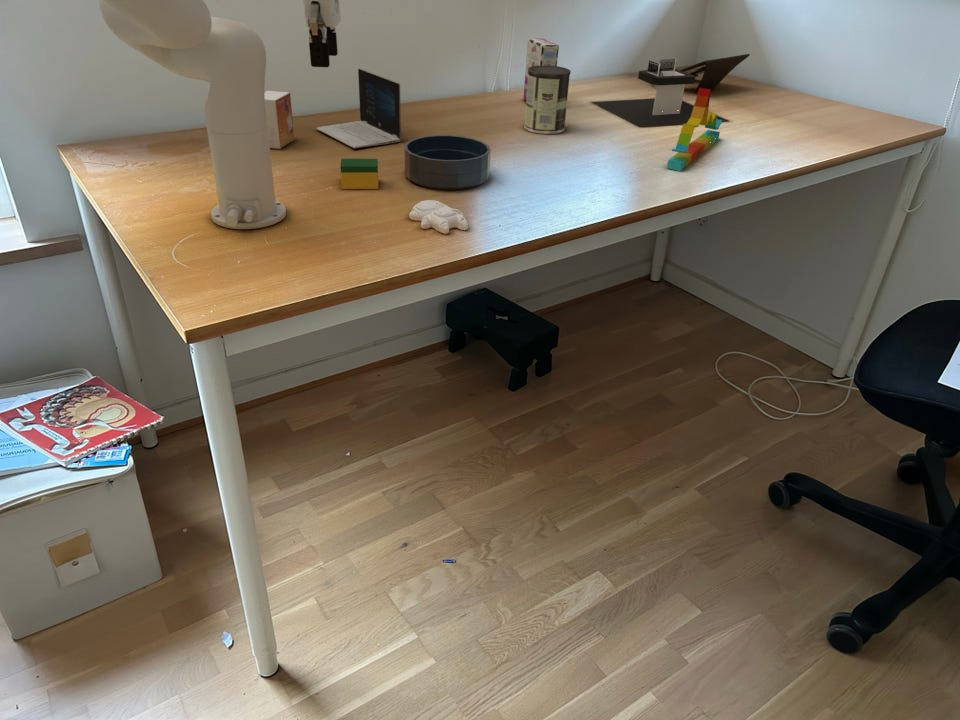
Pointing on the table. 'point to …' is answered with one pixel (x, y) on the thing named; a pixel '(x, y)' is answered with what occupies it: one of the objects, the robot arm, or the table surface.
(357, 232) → the table surface
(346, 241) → the table surface
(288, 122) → the small box
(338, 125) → the laptop
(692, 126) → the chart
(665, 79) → the black-topped pedestal
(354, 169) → the sponge
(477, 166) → the bowl
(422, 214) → the white flat figure
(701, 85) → the laptop tray
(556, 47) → the candy bar box
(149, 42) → the robot arm
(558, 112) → the coffee can
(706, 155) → the table surface
